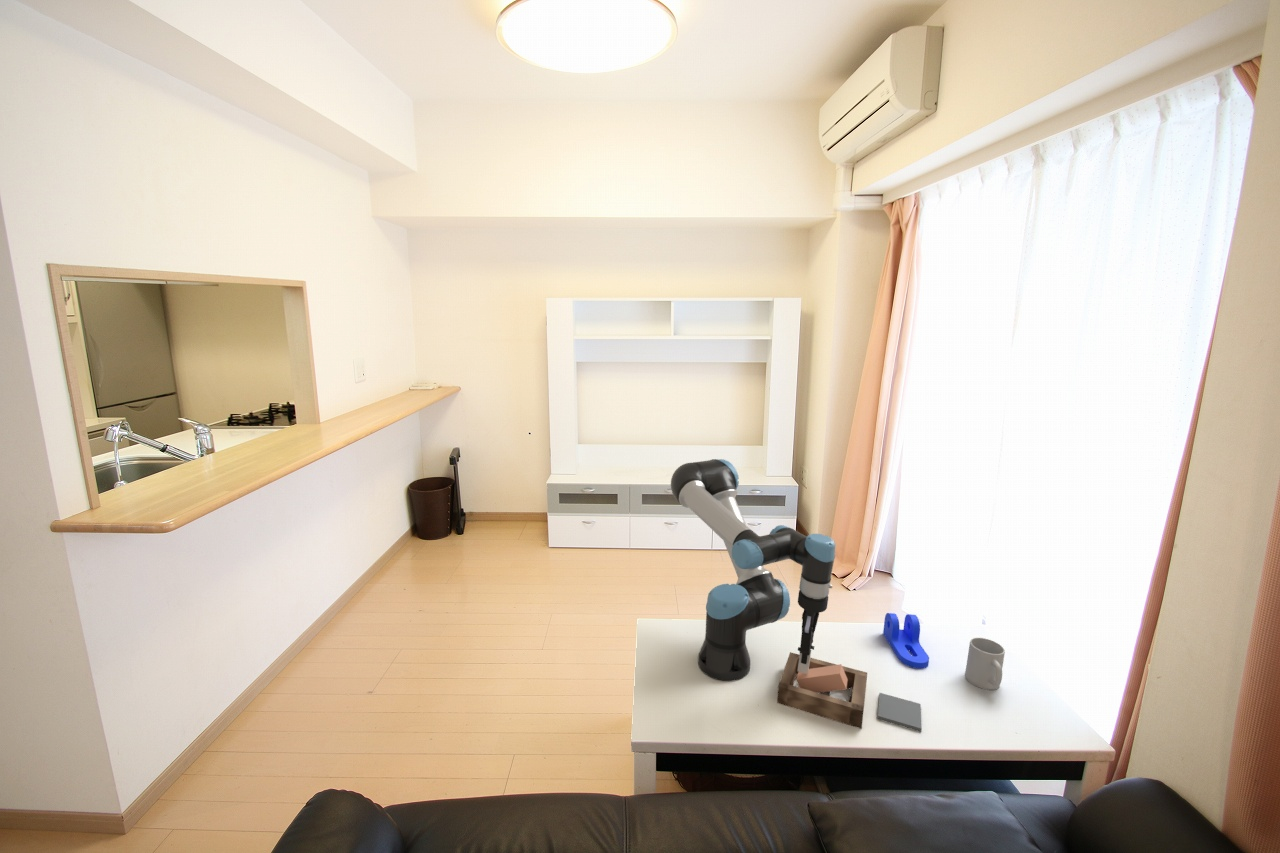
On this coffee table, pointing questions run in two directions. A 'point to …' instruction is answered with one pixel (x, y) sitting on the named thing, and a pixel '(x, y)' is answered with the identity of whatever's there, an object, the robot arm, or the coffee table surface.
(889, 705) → the rubber pad
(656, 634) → the coffee table surface
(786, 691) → the brown wooden frame
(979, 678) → the mug
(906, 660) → the bracket
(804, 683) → the terracotta block
